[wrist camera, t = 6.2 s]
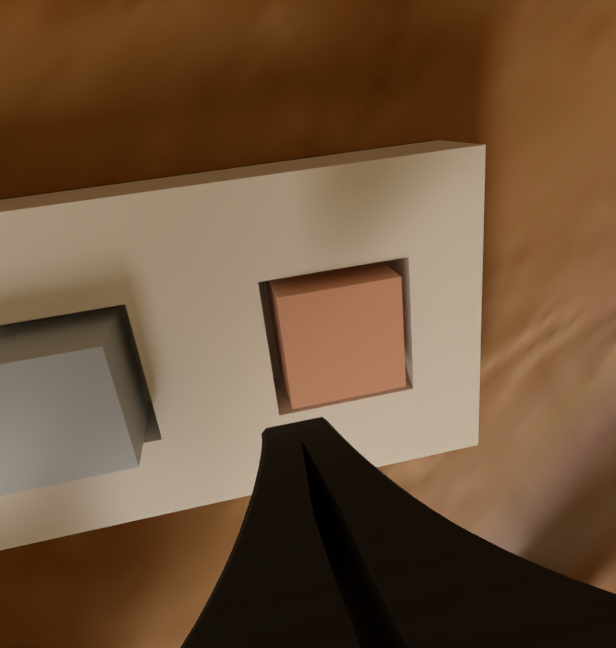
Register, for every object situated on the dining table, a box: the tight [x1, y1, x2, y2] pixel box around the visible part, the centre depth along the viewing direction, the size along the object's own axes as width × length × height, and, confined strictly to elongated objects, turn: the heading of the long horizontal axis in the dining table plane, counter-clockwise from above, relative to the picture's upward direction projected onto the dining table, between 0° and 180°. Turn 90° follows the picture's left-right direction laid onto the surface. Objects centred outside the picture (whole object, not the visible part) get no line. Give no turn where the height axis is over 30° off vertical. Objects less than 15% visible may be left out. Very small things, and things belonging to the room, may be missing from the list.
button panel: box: [0, 140, 486, 550], centre depth 16 cm, size 10×25×3 cm, turn 97°
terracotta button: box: [267, 261, 406, 409], centre depth 16 cm, size 4×4×3 cm
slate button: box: [0, 307, 149, 496], centre depth 14 cm, size 4×4×3 cm
